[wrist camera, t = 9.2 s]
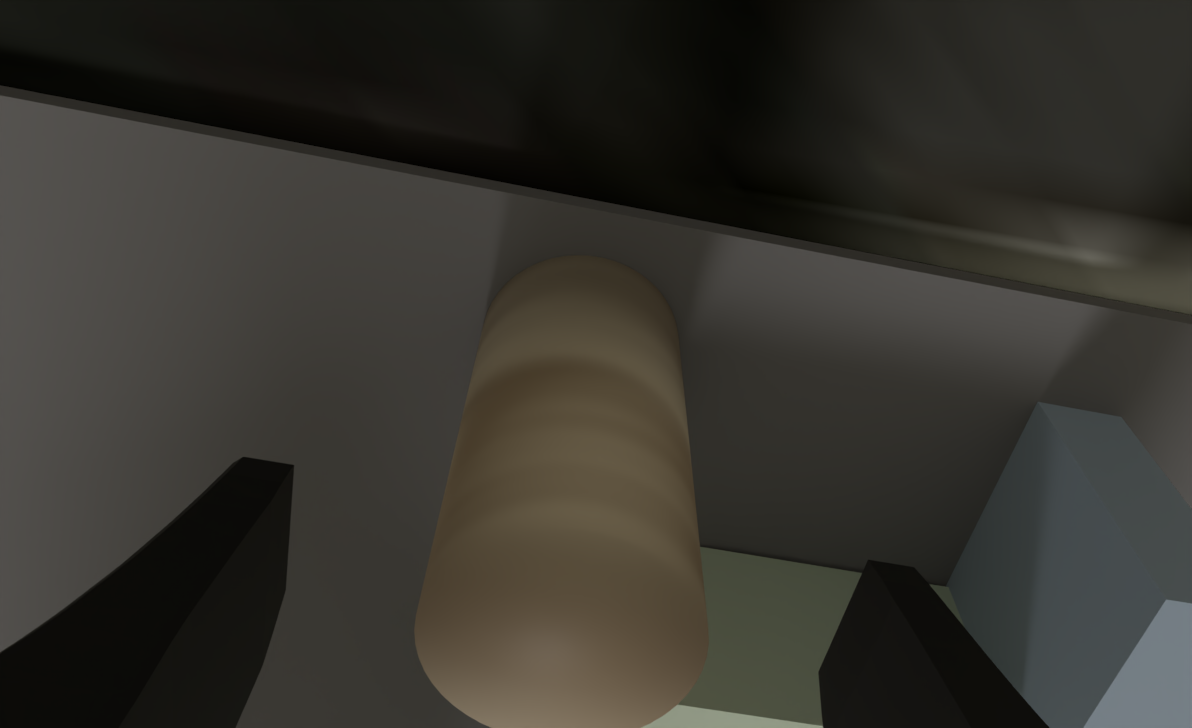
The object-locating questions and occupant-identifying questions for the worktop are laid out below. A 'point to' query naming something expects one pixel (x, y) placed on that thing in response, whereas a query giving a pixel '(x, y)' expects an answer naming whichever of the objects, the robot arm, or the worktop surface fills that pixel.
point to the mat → (444, 368)
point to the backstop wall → (1084, 576)
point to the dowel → (569, 512)
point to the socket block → (766, 642)
